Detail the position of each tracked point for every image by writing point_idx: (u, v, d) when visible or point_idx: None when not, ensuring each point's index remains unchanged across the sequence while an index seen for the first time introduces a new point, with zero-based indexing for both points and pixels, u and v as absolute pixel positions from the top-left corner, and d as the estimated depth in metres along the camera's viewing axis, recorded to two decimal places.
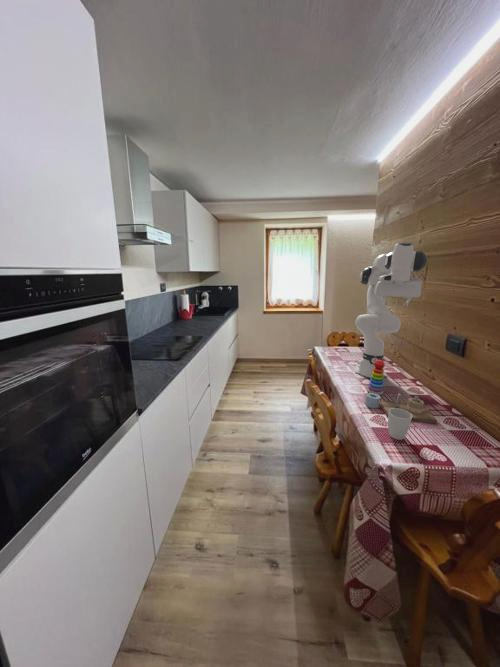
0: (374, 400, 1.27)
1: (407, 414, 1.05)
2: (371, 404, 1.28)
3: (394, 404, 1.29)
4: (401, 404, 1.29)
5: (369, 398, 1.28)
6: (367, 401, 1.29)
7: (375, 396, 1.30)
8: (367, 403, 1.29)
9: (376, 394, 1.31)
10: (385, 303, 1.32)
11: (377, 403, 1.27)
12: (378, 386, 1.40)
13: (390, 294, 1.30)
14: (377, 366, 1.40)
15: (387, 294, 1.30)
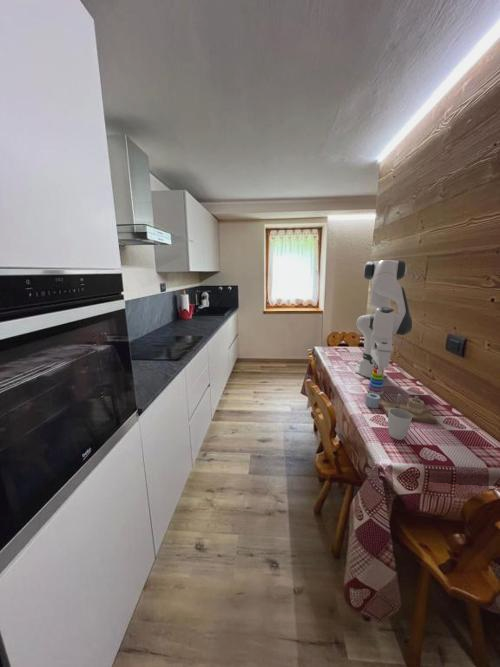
0: (374, 400, 1.27)
1: (407, 414, 1.05)
2: (371, 404, 1.28)
3: (394, 404, 1.29)
4: (401, 404, 1.29)
5: (369, 398, 1.28)
6: (367, 401, 1.29)
7: (375, 396, 1.30)
8: (367, 403, 1.29)
9: (376, 394, 1.31)
10: None
11: (377, 403, 1.27)
12: (378, 386, 1.40)
13: None
14: (377, 366, 1.40)
15: None
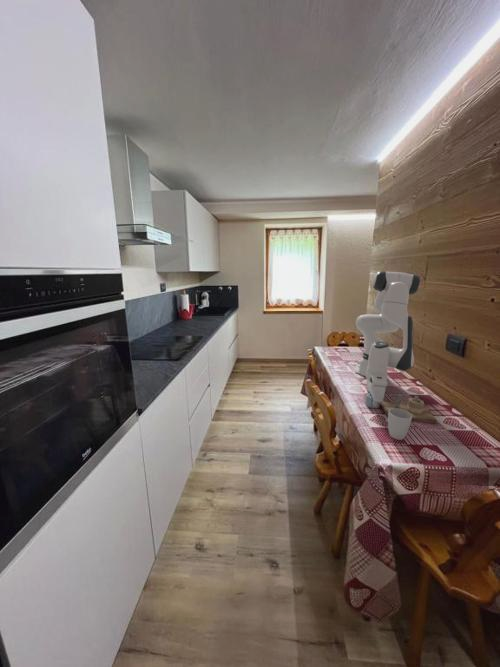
0: None
1: (407, 414, 1.05)
2: (371, 404, 1.28)
3: (394, 404, 1.29)
4: (401, 404, 1.29)
5: (369, 398, 1.28)
6: (367, 401, 1.29)
7: None
8: (367, 403, 1.29)
9: None
10: None
11: (377, 403, 1.27)
12: None
13: None
14: None
15: None
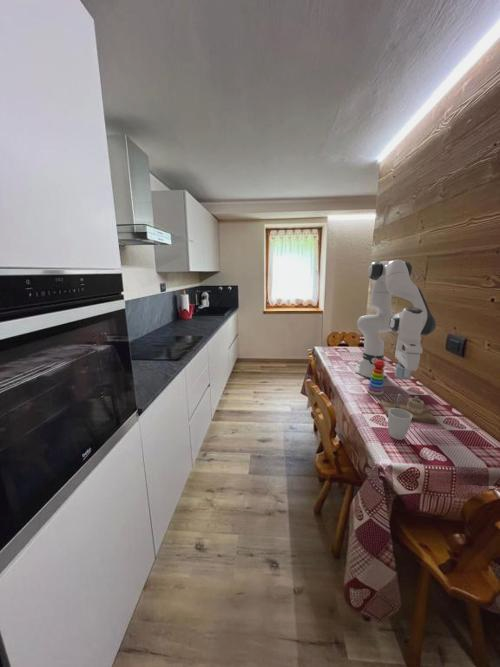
0: None
1: (407, 414, 1.05)
2: (402, 375, 1.19)
3: (394, 404, 1.29)
4: (401, 404, 1.29)
5: (400, 369, 1.19)
6: (397, 372, 1.20)
7: None
8: (397, 374, 1.20)
9: None
10: None
11: (409, 374, 1.18)
12: (378, 386, 1.40)
13: None
14: (377, 366, 1.40)
15: None
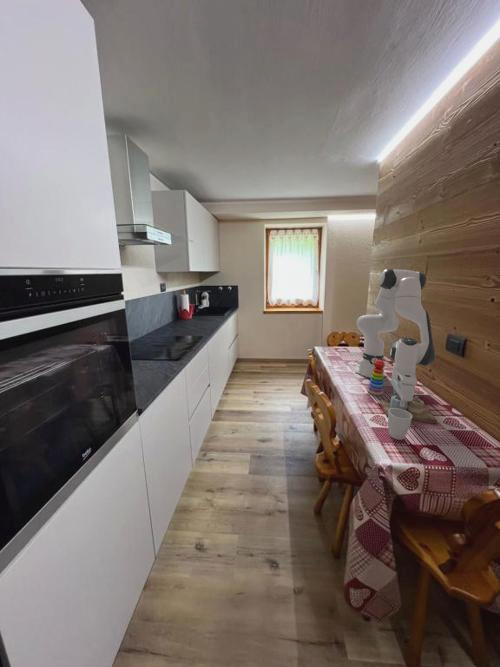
0: None
1: (407, 414, 1.05)
2: (397, 407, 1.22)
3: None
4: None
5: (395, 401, 1.23)
6: (393, 404, 1.24)
7: None
8: (393, 406, 1.24)
9: None
10: None
11: None
12: (378, 386, 1.40)
13: None
14: (377, 366, 1.40)
15: None
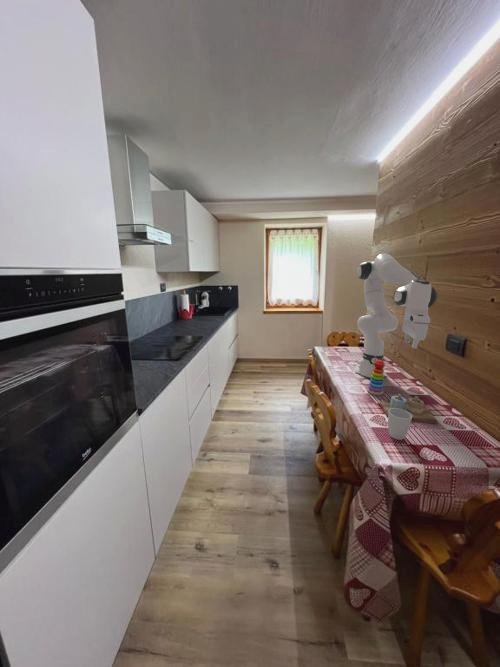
0: (400, 403, 1.21)
1: (407, 414, 1.05)
2: (397, 407, 1.22)
3: None
4: None
5: (395, 401, 1.23)
6: (393, 404, 1.24)
7: (401, 399, 1.25)
8: (393, 406, 1.24)
9: (402, 397, 1.26)
10: None
11: (403, 406, 1.22)
12: (378, 386, 1.40)
13: None
14: (377, 366, 1.40)
15: None
